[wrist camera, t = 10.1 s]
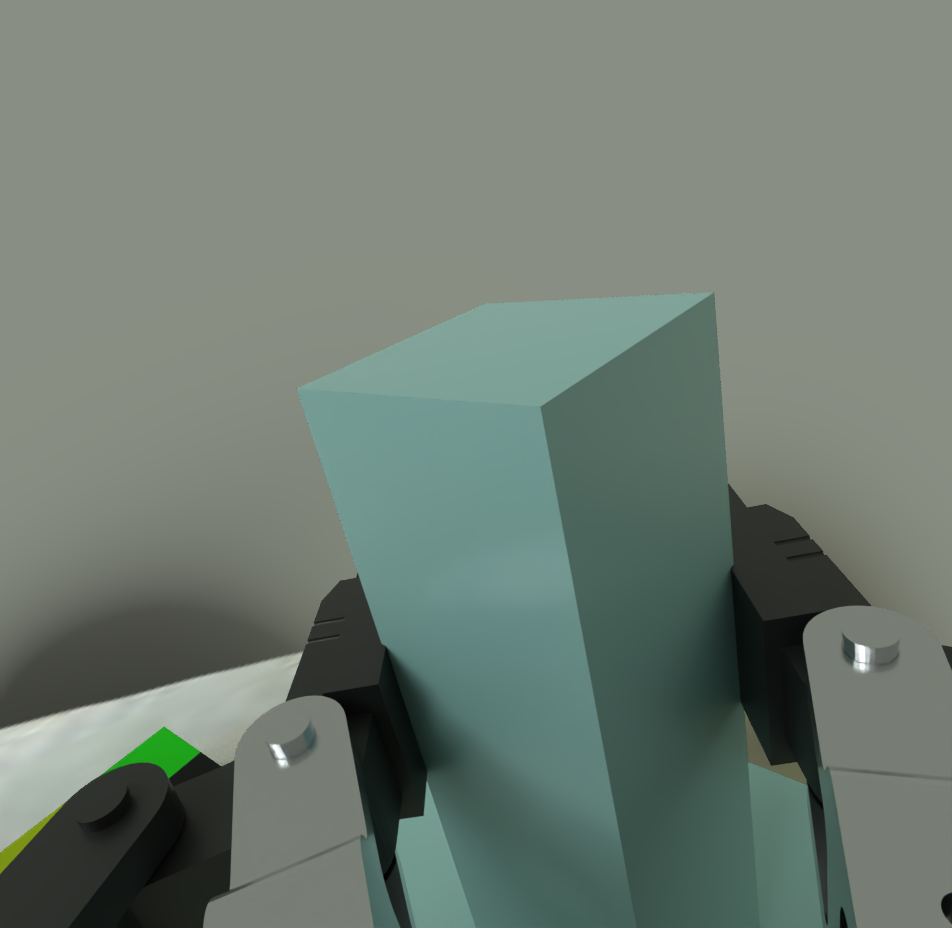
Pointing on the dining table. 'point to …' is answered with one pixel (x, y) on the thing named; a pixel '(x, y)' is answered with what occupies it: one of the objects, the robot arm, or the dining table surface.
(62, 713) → the dining table surface
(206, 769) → the puzzle toy
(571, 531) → the lid
